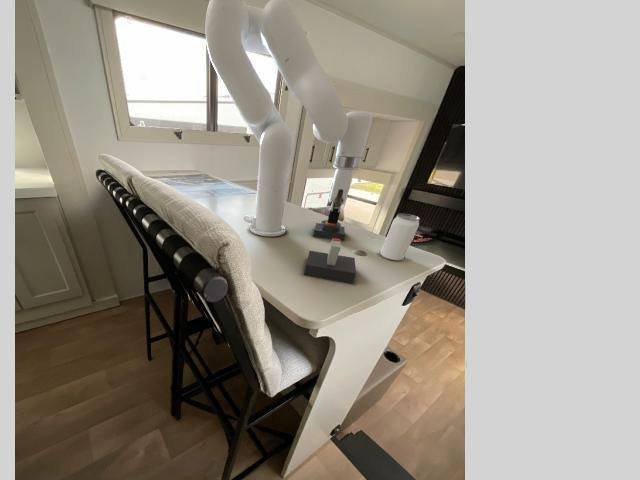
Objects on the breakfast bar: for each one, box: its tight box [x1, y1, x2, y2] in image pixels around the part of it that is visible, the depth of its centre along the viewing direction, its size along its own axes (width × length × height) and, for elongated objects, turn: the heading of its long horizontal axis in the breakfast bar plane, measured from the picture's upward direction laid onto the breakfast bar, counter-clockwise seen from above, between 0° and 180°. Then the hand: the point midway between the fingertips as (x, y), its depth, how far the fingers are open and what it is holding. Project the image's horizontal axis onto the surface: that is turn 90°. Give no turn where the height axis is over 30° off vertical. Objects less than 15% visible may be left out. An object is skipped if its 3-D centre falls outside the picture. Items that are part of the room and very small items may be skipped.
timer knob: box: [327, 238, 341, 266], centre depth 64 cm, size 5×2×5 cm, turn 162°
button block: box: [312, 219, 346, 242], centre depth 88 cm, size 10×8×4 cm
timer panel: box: [303, 250, 357, 285], centre depth 66 cm, size 12×9×3 cm
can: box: [380, 213, 421, 262], centre depth 72 cm, size 6×6×12 cm
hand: (332, 222), depth 86 cm, fingers closed
